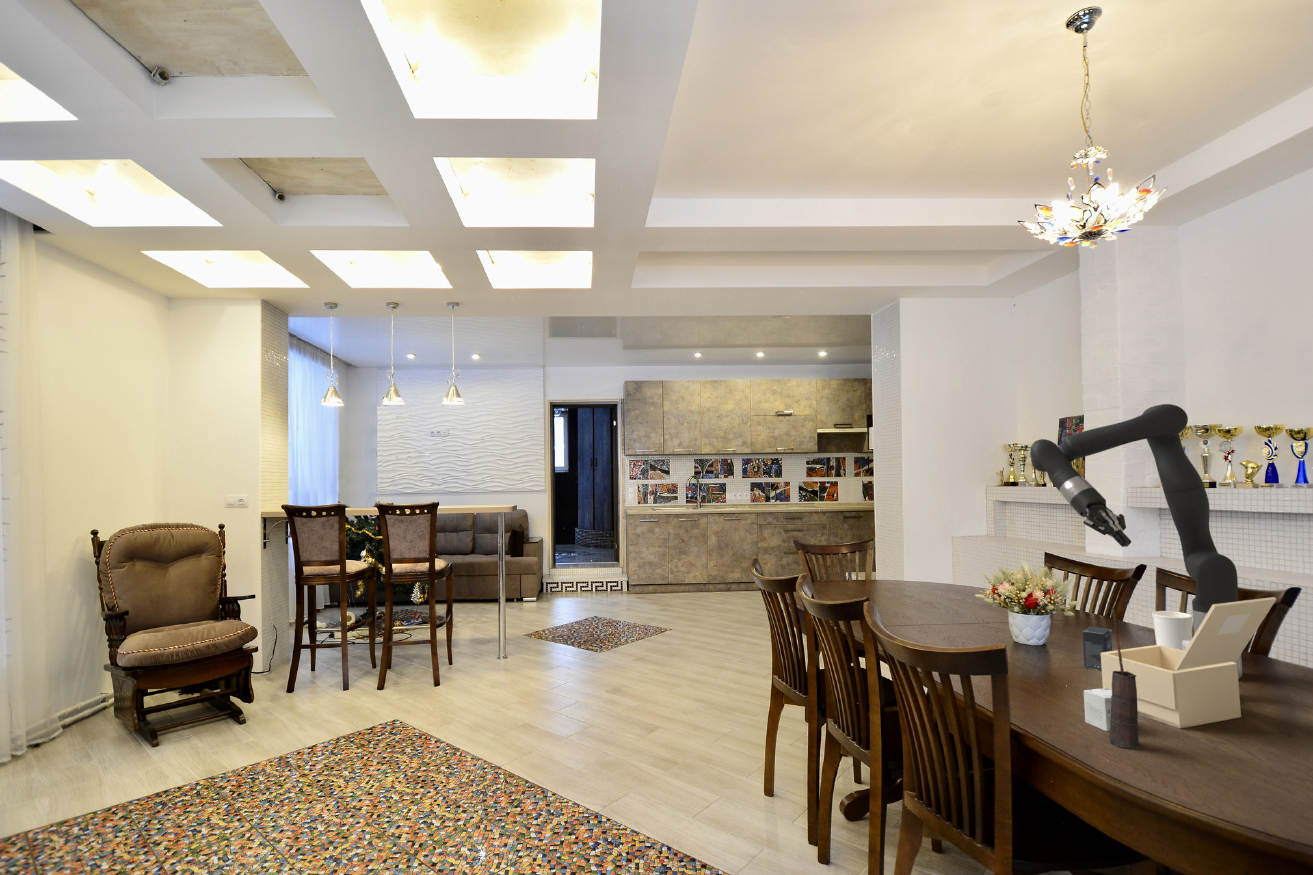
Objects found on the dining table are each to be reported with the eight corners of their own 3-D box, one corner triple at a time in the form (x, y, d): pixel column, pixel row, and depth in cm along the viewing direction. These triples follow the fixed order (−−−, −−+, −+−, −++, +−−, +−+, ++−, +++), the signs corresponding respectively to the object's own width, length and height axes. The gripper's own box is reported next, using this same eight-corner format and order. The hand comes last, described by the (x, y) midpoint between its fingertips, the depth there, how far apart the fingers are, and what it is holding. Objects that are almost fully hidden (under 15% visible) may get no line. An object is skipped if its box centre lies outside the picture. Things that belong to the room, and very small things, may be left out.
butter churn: (1167, 756, 136) (1157, 614, 138) (1115, 754, 138) (1105, 614, 139) (1143, 738, 145) (1134, 605, 147) (1094, 736, 147) (1085, 605, 148)
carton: (1161, 692, 173) (1158, 644, 174) (1242, 716, 155) (1238, 663, 156) (1101, 702, 167) (1098, 652, 168) (1178, 728, 150) (1174, 673, 150)
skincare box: (1107, 732, 149) (1104, 697, 150) (1084, 722, 155) (1082, 689, 155) (1130, 729, 150) (1128, 695, 151) (1107, 719, 156) (1105, 686, 157)
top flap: (1273, 597, 149) (1277, 599, 148) (1233, 659, 156) (1236, 661, 156) (1212, 604, 143) (1215, 606, 142) (1174, 668, 151) (1176, 670, 150)
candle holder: (1154, 648, 213) (1151, 609, 214) (1194, 652, 207) (1191, 612, 208) (1154, 655, 205) (1151, 615, 206) (1196, 660, 199) (1193, 618, 200)
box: (1106, 671, 192) (1104, 633, 192) (1083, 667, 196) (1081, 630, 196) (1114, 665, 197) (1111, 628, 198) (1091, 662, 201) (1089, 625, 202)
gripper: (1071, 487, 185) (1117, 536, 173) (1108, 486, 189) (1155, 533, 177) (1056, 506, 190) (1099, 555, 177) (1091, 504, 194) (1136, 552, 181)
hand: (1127, 544), depth 177 cm, fingers closed
